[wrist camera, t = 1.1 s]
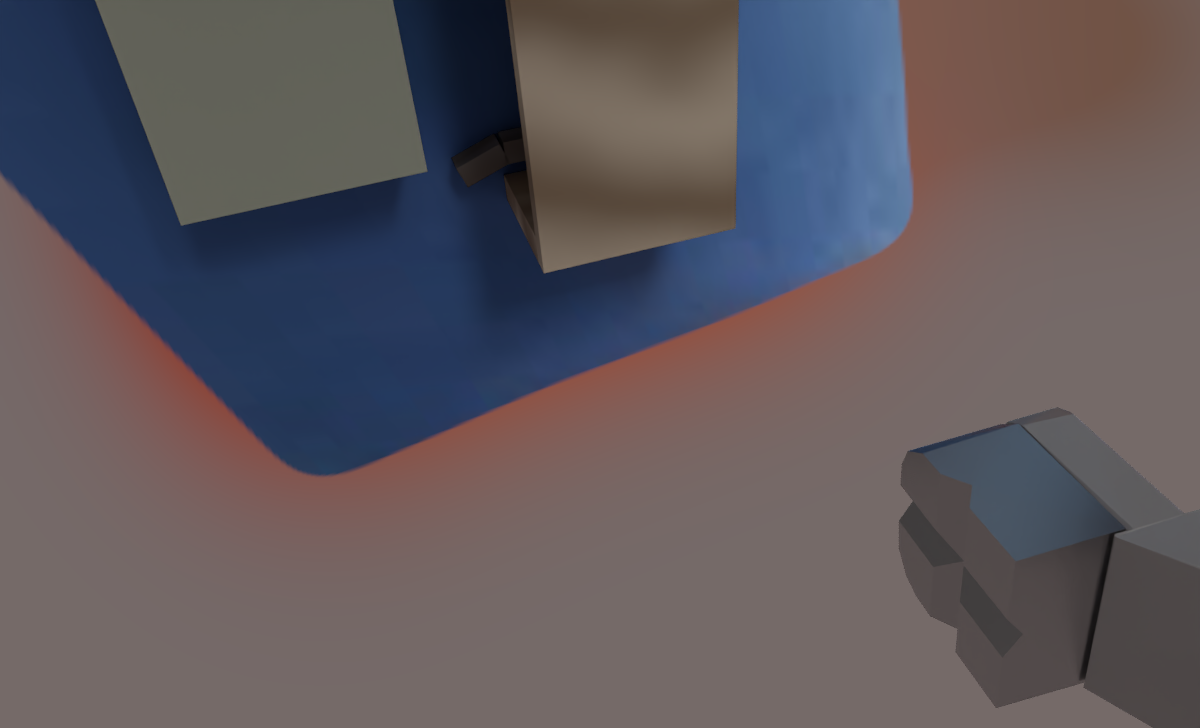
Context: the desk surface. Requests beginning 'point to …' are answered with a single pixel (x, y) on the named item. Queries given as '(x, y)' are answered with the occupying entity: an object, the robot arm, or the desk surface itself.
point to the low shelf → (618, 125)
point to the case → (266, 97)
